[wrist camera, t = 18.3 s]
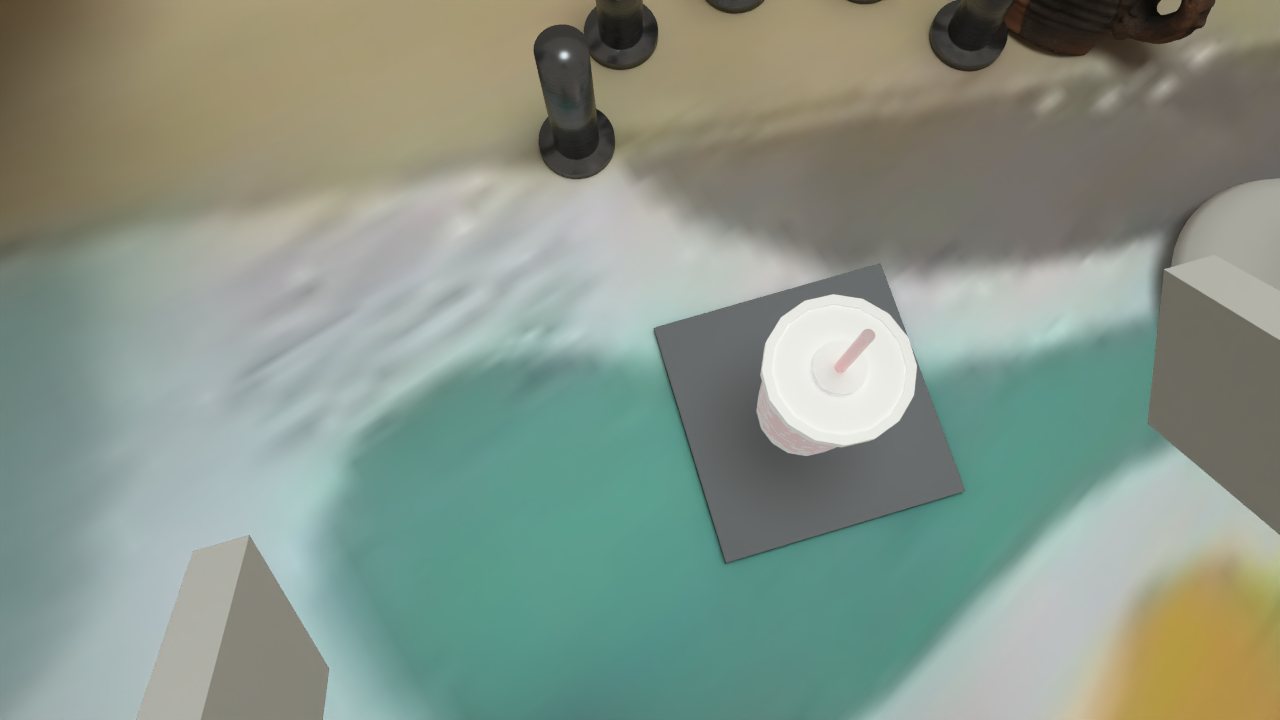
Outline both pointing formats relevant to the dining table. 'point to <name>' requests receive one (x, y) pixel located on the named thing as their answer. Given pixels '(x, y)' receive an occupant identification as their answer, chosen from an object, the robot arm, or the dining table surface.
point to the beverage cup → (834, 375)
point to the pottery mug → (1102, 22)
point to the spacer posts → (629, 37)
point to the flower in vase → (1237, 230)
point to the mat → (767, 475)
